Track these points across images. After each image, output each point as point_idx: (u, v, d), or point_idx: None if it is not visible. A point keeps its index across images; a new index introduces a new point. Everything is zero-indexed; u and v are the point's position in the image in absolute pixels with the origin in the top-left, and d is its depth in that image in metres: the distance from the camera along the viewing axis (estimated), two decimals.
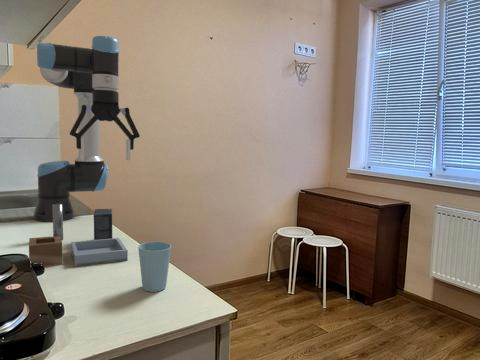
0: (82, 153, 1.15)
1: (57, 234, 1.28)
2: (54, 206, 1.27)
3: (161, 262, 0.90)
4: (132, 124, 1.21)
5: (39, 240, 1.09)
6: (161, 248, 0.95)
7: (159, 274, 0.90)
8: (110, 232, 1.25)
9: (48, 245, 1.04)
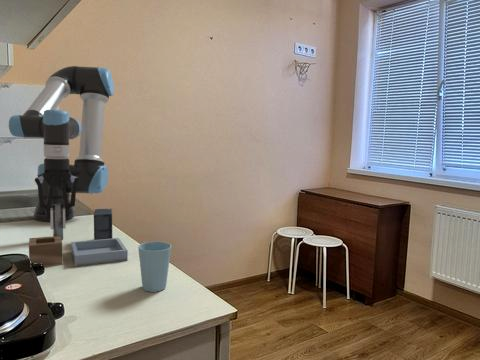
0: (51, 223, 1.27)
1: (57, 234, 1.28)
2: (54, 206, 1.27)
3: (161, 262, 0.90)
4: (73, 193, 1.29)
5: (39, 240, 1.09)
6: (161, 248, 0.95)
7: (159, 274, 0.90)
8: (110, 232, 1.25)
9: (48, 245, 1.04)
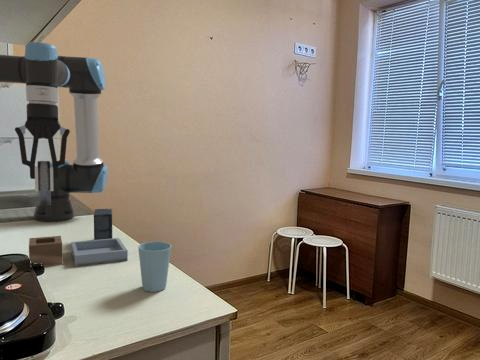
0: (36, 184, 1.03)
1: (43, 197, 1.05)
2: (39, 163, 1.03)
3: (161, 262, 0.90)
4: (63, 148, 1.06)
5: (39, 240, 1.09)
6: (161, 248, 0.95)
7: (159, 274, 0.90)
8: (110, 232, 1.25)
9: (48, 245, 1.04)
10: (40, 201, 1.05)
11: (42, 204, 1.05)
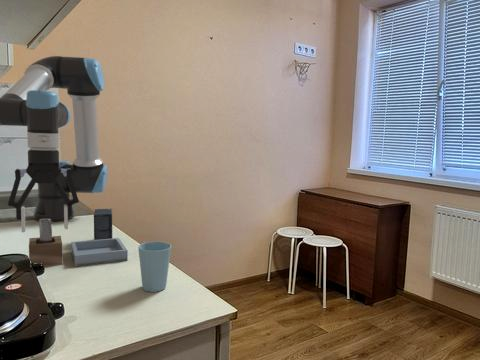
0: (22, 224, 1.03)
1: None
2: (41, 222, 1.05)
3: (161, 262, 0.90)
4: (72, 188, 1.08)
5: (39, 240, 1.09)
6: (161, 248, 0.95)
7: (159, 274, 0.90)
8: (110, 232, 1.25)
9: (48, 245, 1.04)
10: None
11: None
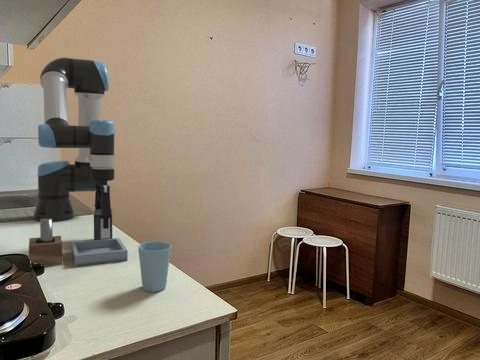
0: None
1: None
2: (42, 222, 1.06)
3: (161, 262, 0.90)
4: (101, 203, 1.19)
5: (39, 240, 1.09)
6: (161, 248, 0.95)
7: (159, 274, 0.90)
8: (110, 232, 1.25)
9: (48, 245, 1.04)
10: None
11: None
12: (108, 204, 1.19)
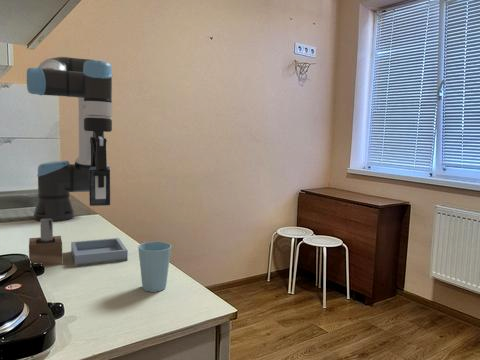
0: None
1: None
2: (42, 222, 1.05)
3: (161, 262, 0.90)
4: (96, 158, 1.05)
5: (39, 240, 1.09)
6: (161, 248, 0.95)
7: (159, 274, 0.90)
8: (108, 191, 1.09)
9: (48, 245, 1.04)
10: None
11: None
12: (104, 160, 1.05)
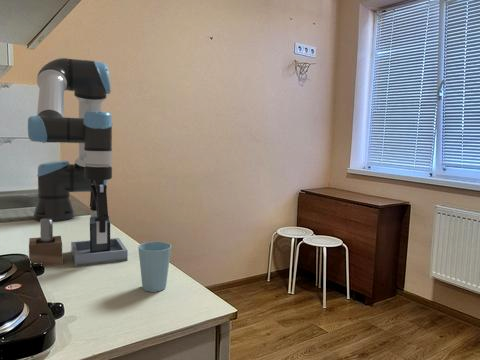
0: None
1: None
2: (42, 222, 1.05)
3: (161, 262, 0.90)
4: (97, 204, 1.05)
5: (39, 240, 1.09)
6: (161, 248, 0.95)
7: (159, 274, 0.90)
8: (108, 243, 1.11)
9: (48, 245, 1.04)
10: None
11: None
12: (105, 205, 1.05)
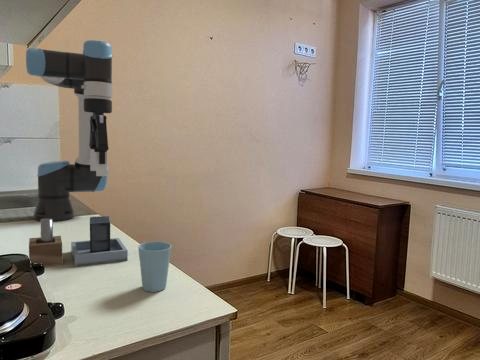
0: (90, 164, 1.17)
1: None
2: (42, 222, 1.06)
3: (161, 262, 0.90)
4: (97, 134, 1.03)
5: (39, 240, 1.09)
6: (161, 248, 0.95)
7: (159, 274, 0.90)
8: (108, 243, 1.11)
9: (48, 245, 1.04)
10: None
11: None
12: (105, 135, 1.03)
